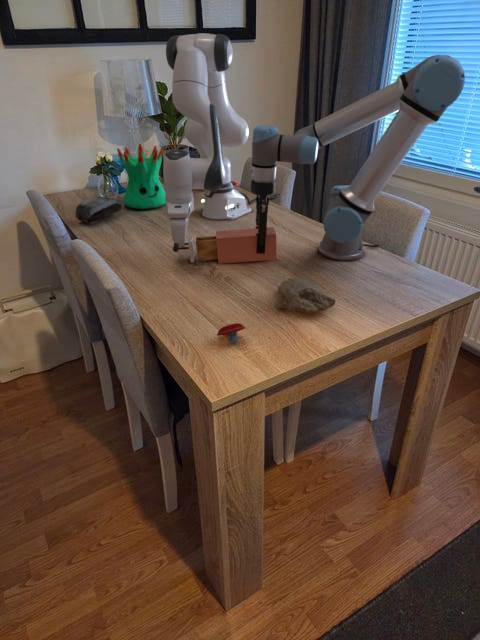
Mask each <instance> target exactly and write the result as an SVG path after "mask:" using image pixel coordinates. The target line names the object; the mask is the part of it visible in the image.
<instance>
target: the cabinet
mask: <svg viewBox="0 0 480 640" xmlns="http://www.w3.org/2000/svg"><path fill="white" fill-rule="evenodd" d="M266 233H267V235H266V240H265V254H257V236H256V234H258V228H256V227H255V228H245V229H244V228H243V229H232V230H231V229H229V230H218V231H215V236H216V242H217V253H218V259H217V263H218V265H221V264H233V263H235V264H236V263H248V262H260V261H261V262H262V261H274V260H277V259H278V258H277V257H278V255H277V232H276V229H275V227H273V226H271V227H270V226H269V227H267V231H266Z"/></svg>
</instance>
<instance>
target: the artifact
mask: <svg viewBox="0 0 480 640" xmlns="http://www.w3.org/2000/svg"><path fill="white" fill-rule="evenodd" d="M335 304H336V299H335V298H333V297H331V295H329V294H327V293H326V292H324V291H323V290H321V288H319V287H318V286H317V285H316V284H315V282H314V280H312V278H311V277H310V276H309V275H301V276H298V277H294V278H288V280H283V281H282V282H281V283H280V284H279V286H278V287H277V297H276V301H275V306H276V307H277V308H278V310H280V311H281V310H284V309H286V308H287V309H289V311H298V312H304V313H311V314H313V313H314V314H315V313H317V312H320V311H327V310H328V309H330V308H333V307H334V306H335Z"/></svg>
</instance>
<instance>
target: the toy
mask: <svg viewBox="0 0 480 640" xmlns="http://www.w3.org/2000/svg"><path fill="white" fill-rule="evenodd" d="M116 149H117V150H116V151H117V153H118V157H119V159H120V162H121V164H122V165H121V166H122V167H123V169H124V171H126V173H127V178H128V180H127V184H126V190H125V192H124V195H123V198H122V203H123V204H124V205H125V206H126V207H128V208H130V209H136V210H138V209H139V210H146V209H156V208H158V207H162V206H164V205H166V202H165V192H166V189H164V186H163V184H162V182H161V181H160V176H159V175H160V174H159V172H160V169H161V165H162V161H163V147H161V148H160V150H159V153H158V147H157V146H156V145H154V147H153V148H152V151H151V153H150V156H149V157H147V156H146V154H145V151H144V148H143V145H142V143H141V142H140V143H139V144H138V150H137V156H136V157H134V156H133V155H132V153H131V151H130V150H129V148H128V147H127V146H126V145H124V151H123V153H122V150H121V149H120V148H116Z"/></svg>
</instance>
